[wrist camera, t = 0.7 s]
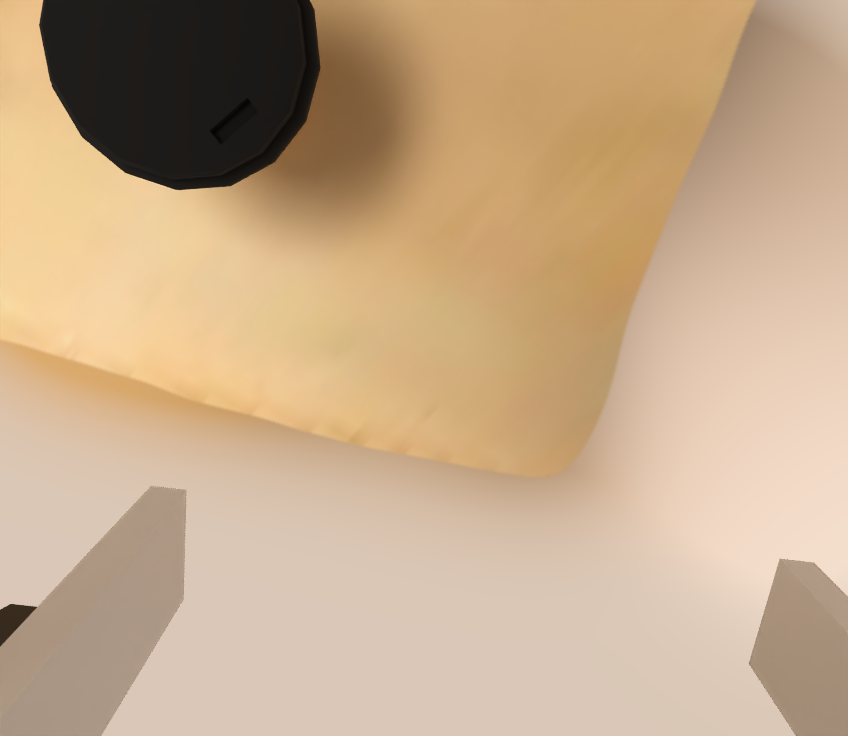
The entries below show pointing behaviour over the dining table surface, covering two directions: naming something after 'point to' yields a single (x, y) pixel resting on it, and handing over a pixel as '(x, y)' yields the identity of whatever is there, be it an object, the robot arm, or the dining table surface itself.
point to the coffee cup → (184, 82)
